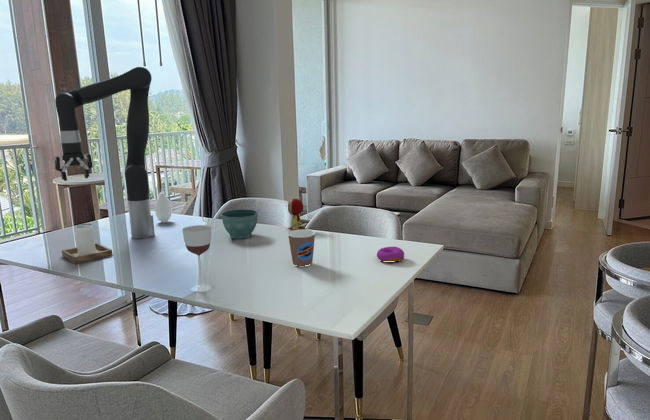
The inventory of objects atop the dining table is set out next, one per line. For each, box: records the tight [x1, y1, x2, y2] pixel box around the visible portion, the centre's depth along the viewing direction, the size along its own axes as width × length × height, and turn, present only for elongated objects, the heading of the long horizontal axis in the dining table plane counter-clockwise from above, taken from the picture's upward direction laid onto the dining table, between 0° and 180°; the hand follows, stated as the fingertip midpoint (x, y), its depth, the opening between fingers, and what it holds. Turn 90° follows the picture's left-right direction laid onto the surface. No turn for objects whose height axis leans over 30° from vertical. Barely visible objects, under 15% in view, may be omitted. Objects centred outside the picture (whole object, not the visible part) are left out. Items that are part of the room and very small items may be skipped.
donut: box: [376, 246, 405, 262], centre depth 179 cm, size 10×10×4 cm
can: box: [74, 223, 96, 256], centre depth 191 cm, size 6×6×12 cm
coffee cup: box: [287, 228, 317, 266], centre depth 176 cm, size 10×10×12 cm
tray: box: [61, 242, 114, 265], centre depth 192 cm, size 14×15×2 cm
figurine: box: [286, 198, 308, 232], centre depth 224 cm, size 9×10×15 cm
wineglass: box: [181, 224, 212, 287], centre depth 153 cm, size 8×9×20 cm
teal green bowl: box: [220, 208, 259, 239], centre depth 216 cm, size 16×16×11 cm
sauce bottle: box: [154, 187, 173, 224], centre depth 245 cm, size 8×8×18 cm
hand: (76, 179), depth 206 cm, fingers open, 8 cm apart
